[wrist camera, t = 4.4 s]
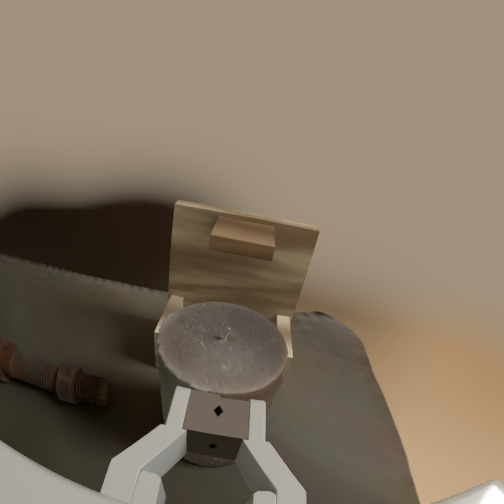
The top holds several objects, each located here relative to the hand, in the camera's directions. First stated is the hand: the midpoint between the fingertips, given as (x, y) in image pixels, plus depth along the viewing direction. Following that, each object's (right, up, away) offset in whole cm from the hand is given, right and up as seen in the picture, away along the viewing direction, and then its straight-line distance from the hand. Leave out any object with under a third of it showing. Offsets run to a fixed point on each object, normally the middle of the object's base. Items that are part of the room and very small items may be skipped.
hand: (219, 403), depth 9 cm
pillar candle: (-3, -13, +17) cm, 22 cm away
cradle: (-3, -8, +28) cm, 29 cm away
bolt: (-22, -11, +16) cm, 29 cm away
